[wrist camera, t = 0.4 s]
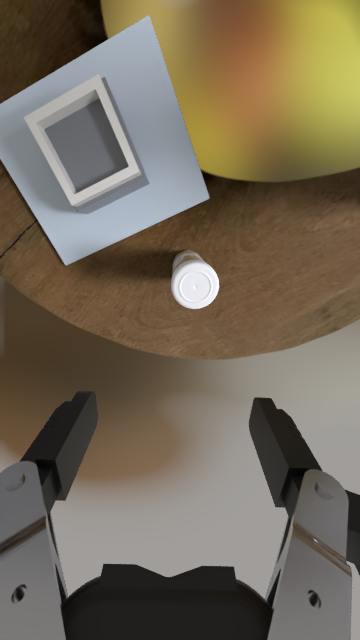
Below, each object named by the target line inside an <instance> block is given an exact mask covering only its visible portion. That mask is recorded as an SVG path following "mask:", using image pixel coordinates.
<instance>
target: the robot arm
mask: <svg viewBox="0 0 360 640" xmlns="http://www.w3.org/2000/svg"><path fill="white" fill-rule="evenodd" d="M97 421H98V411H97V403H96V395H95V392H93V391H78V392H77V393H76V394H75V396H74V397H73V399H72V401H71V402H68V401H67V402H64V403H63V404H62V405H60V406H59V407H58V408H57V409H55V411H54V413H53V414H52V415H51V417H50V418H49V421H47V423H46V424H45V426H44V428H43V429H42V430H41V431H40V433H39V435H38V436H37V437H36V439H35V440H34V442H33V443H32V444H31V446H30V448H29V449H28V450H27V452H26V453H25V455H24V456H23V458H22V459H21V460H20V462H18V463H15V464H13V465H11V466H9V467H7V468H6V469H4V470H3V471H2V472H1V473H0V640H350V637H351V601H352V572H351V568H350V566H349V565H347V563H346V561H349V562H351V563H354V564H355V566H356V568H357V570H358V572H359V575H360V495H358V494H355V493H352V492H349V491H347V490H345V489H344V488H343V487H342V485H341V484H340V483H339V482H338V481H337V480H336V479H335V478H333V477H332V476H331V475H329V474H327V473H326V472H323V471H322V469H321V468H320V466H319V464H318V462H317V461H316V459H315V457H314V456H313V454H312V452H311V450H310V449H309V447H308V445H307V444H306V442H305V440H304V439H303V438H302V435H301V433H300V432H299V430H298V429H297V427H296V425H295V423H294V422H293V420H292V418H291V417H290V416H289V415H288V414H287V413H286V412H285V411H283V410H282V409H277V408H276V406H275V404H274V402H273V401H272V399H271V398H254V400H253V406H252V410H251V415H250V419H249V430H250V434H251V437H252V440H253V442H254V445H255V449H256V451H257V454H258V457H259V460H260V463H261V466H262V469H263V472H264V475H265V478H266V481H267V484H268V486H269V489H270V492H271V495H272V498H273V501H274V504H275V507H285V508H286V511H287V513H288V518H287V521H286V525H285V529H284V533H283V537H282V541H281V544H280V548H279V552H278V556H277V560H276V563H275V567H274V571H273V574H272V577H271V580H270V583H269V587H268V590H267V594H266V597H265V599H263V597H262V596H260V594H259V593H257V592H256V591H255V590H254V589H252V588H251V587H250V586H248V585H247V584H245V583H243V582H242V581H240V580H237V579H236V577H235V571H234V567H227V566H226V567H224V566H223V567H222V566H201V567H198V568H195V569H192V570H190V571H187V572H184V573H181V574H179V575H176V576H173V577H164V576H162V575H160V574H157V573H155V572H153V571H150V570H148V569H145V568H143V567H140V566H138V565H133V564H103V569H102V573H101V576H99V577H97V578H95V579H93V580H91V581H89V582H87V583H85V584H84V585H82V586H81V587H80V588H78V589H77V590H76V591H75V592H73V593H72V594H71V595H70V596H69V597H68V594H67V589H66V584H65V580H64V576H63V572H62V568H61V563H60V558H59V553H58V548H57V543H56V538H55V533H54V527H53V522H52V517H51V513H50V511H51V509H52V507H53V505H54V503H55V501H56V500H66V498H67V495H68V493H69V490H70V488H71V486H72V483H73V481H74V479H75V476H76V474H77V471H78V469H79V467H80V464H81V462H82V459H83V457H84V454H85V452H86V450H87V447H88V445H89V443H90V440H91V437H92V436H93V433H94V431H95V429H96V425H97Z"/></svg>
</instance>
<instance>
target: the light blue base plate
mask: <svg viewBox="0 0 360 640" xmlns="http://www.w3.org/2000/svg"><path fill="white" fill-rule="evenodd" d="M0 159H1V161H2V162H3V164H4V166H5V167H6V169H7V171H8V172H9V174H10V176H11V177H12V179H13V180H14V182H15V184H16V185H17V187H18V189H19V190H20V192H21V193H22V195H23V197H24V198H25V200H26V202H27V203H28V205H29V207H30V208H31V210H32V211H33V213H34V215H35V216H36V218H37V220H38V221H39V223H40V225H41V226H42V228H43V229H44V231H45V233H46V234H47V236H48V238H49V239H50V241H51V243H52V244H53V246H54V247H55V249H56V251H57V252H58V254H59V256H60V257H61V259H62V260H63V262H64V264H65V265H69V264H71V263H73V262H75V261H77V260H80V259H82V258H84V257H86V256H88V255H90V254H92V253H94V252H97V251H99V250H101V249H103V248H105V247H107V246H109V245H112V244H114V243H116V242H118V241H120V240H122V239H124V238H126V237H129V236H131V235H133V234H135V233H137V232H139V231H141V230H144V229H146V228H148V227H150V226H152V225H154V224H156V223H159V222H161V221H163V220H165V219H167V218H169V217H171V216H173V215H176V214H178V213H180V212H182V211H184V210H186V209H188V208H191V207H193V206H195V205H197V204H199V203H201V202H203V201H205V200H208V199H209V195H208V191H207V188H206V185H205V182H204V179H203V176H202V173H201V170H200V167H199V164H198V161H197V158H196V155H195V152H194V149H193V146H192V143H191V140H190V137H189V134H188V131H187V128H186V125H185V122H184V119H183V116H182V113H181V110H180V107H179V104H178V101H177V98H176V94H175V92H174V89H173V85H172V82H171V80H170V76H169V73H168V70H167V67H166V64H165V61H164V58H163V55H162V52H161V49H160V46H159V43H158V40H157V37H156V34H155V31H154V28H153V25H152V22H151V19H150V16H147V17H145V18H143V19H142V20H140V21H138V22H137V23H135V24H133V25H132V26H130V27H128V28H127V29H125V30H123V31H122V32H120V33H118V34H117V35H115V36H113V37H112V38H110V39H108V40H107V41H105V42H103V43H102V44H100V45H98V46H97V47H95V48H93V49H91V50H90V51H88V52H86V53H85V54H83V55H81V56H80V57H78V58H76V59H75V60H73V61H71V62H70V63H68V64H66V65H65V66H63V67H61V68H60V69H58V70H56V71H55V72H53V73H51V74H50V75H48V76H46V77H45V78H43V79H41V80H40V81H38V82H36V83H35V84H33V85H31V86H30V87H28V88H26V89H24V90H23V91H21V92H19V93H18V94H16V95H14V96H13V97H11V98H9V99H8V100H6V101H4V102H3V103H1V104H0Z"/></svg>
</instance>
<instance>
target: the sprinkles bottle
mask: <svg viewBox="0 0 360 640" xmlns="http://www.w3.org/2000/svg"><path fill="white" fill-rule="evenodd" d="M171 288H172V293H173V296H174V298H175V299H176V300H177V302H178V303H179V304H181V305H182V306H184V307H186V308H190V309H199V308H203V307H205V306H207V305H209V304H210V303H211V302H212V301H213V300H214V299H215V297H216V295H217V293H218V289H219V280H218V277H217V274H216V273H215V271H214V270H213V268H212V267H211V266H209V265H208V264H207V263H205V262H204V261H203V260H202V259H201V257H200V256H199V255H198V254H197V253H196V252H194V251H190V250H186V251H182V252H180V253H179V254H178V255H176V257H175V259H174V261H173V275H172V280H171Z"/></svg>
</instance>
